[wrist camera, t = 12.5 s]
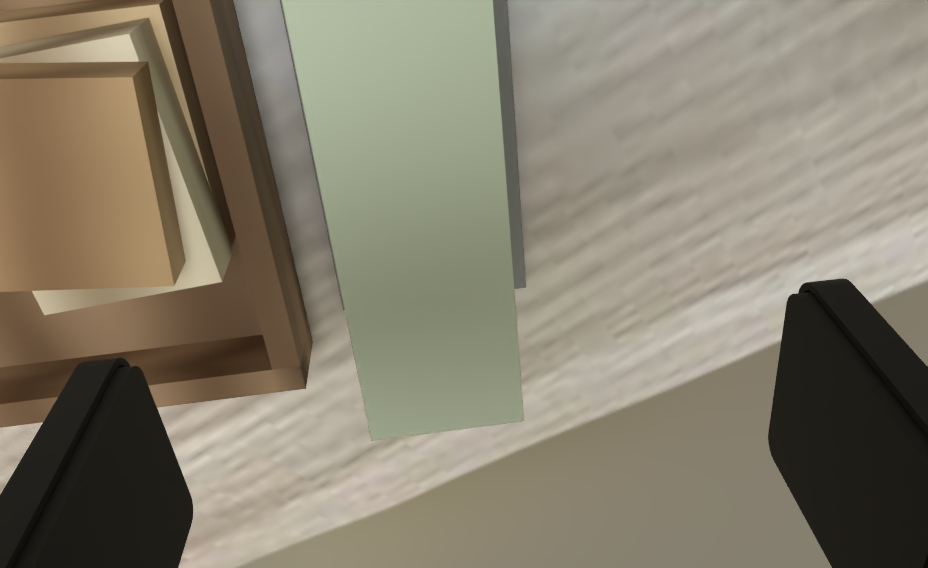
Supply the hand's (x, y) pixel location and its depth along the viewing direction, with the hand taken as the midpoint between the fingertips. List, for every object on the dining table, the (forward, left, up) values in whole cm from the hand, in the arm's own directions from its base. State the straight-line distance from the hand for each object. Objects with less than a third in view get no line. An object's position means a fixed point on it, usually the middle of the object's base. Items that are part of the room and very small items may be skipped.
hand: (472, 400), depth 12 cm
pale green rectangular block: (+1, 0, -17) cm, 17 cm away
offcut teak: (+10, 0, -13) cm, 16 cm away
